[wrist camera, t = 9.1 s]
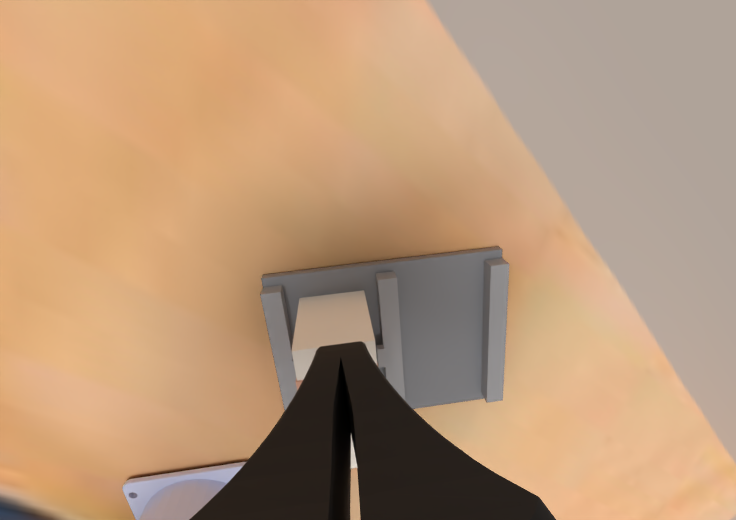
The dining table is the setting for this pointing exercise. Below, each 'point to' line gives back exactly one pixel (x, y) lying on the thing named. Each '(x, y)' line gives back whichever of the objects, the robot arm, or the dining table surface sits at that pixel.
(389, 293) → the grey ribbed plate
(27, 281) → the dining table surface
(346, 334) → the block
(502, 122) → the dining table surface
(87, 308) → the dining table surface
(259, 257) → the dining table surface
